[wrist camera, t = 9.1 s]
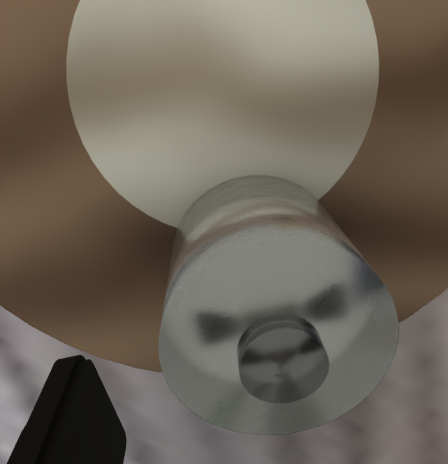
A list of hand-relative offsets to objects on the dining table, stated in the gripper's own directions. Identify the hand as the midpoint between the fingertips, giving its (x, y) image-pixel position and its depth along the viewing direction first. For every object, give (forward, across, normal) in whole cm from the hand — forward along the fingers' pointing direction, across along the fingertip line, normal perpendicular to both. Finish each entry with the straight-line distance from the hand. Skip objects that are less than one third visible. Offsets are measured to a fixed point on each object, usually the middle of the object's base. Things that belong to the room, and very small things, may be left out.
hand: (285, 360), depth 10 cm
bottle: (+7, 0, +1) cm, 7 cm away
